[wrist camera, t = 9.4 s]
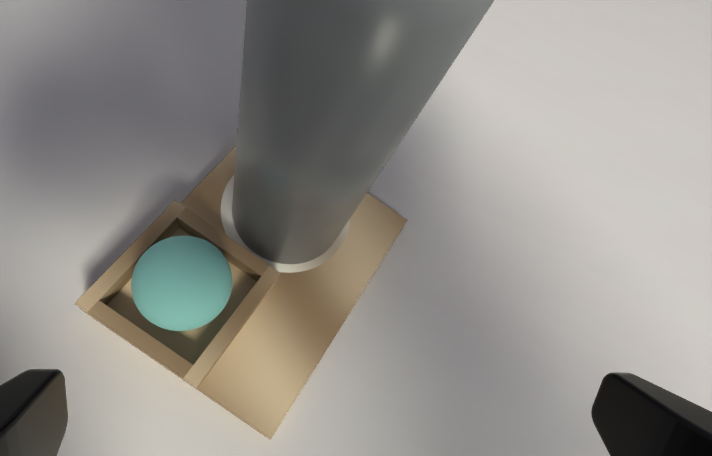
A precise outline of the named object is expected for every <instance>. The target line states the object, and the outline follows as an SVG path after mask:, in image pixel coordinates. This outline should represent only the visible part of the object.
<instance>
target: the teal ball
mask: <svg viewBox="0 0 712 456" xmlns="http://www.w3.org/2000/svg"><path fill="white" fill-rule="evenodd" d="M231 290H232V273H231V268H230V266H229V263H228V261H227V259H226V258H225V256H224V255H223V254H222V252H221V251H220V250H219V249H218V248H217V247H216V246H214V245H213V244H211V243H210V242H208V241H206V240H204V239H201V238H197V237H193V236H174V237H170V238H166V239H164V240H161V241H159V242H158V243H156V244H154V245H153V246H151V247H150V248H149V249H148V250H147V251H146V252H145V253H144V254H143V255H142V256H141V257H140V259H139V260H138V262H137V264H136V266H135V268H134V271H133V274H132V280H131V291H132V296H133V299H134V302H135V304H136V306H137V308H138V310H139V311H140V313H141V314H142V315H143V316H144V317H145V318H146V319H147V320H149V321H150V322H151V323H153V324H155V325H156V326H158V327H161V328H163V329H167V330H172V331H187V330H192V329H196V328H199V327H201V326H203V325H205V324H207V323H209V322H210V321H212V320H213V319H214V318H215V317H217V316H218V315H219V314H220V312H221V311H222V310H223V309H224V307H225V306H226V304H227V302H228V300H229V297H230V294H231Z"/></svg>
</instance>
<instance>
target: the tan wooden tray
mask: <svg viewBox="0 0 712 456" xmlns="http://www.w3.org/2000/svg"><path fill="white" fill-rule="evenodd" d="M236 146H237V145H236ZM236 146H235V147H234V148H233V149H232V150H231V151H230V152H229V153H228V154H227V155H226V156H225V158H224V159H223V160H222V161H221V162H220V163H219V164H218V165H217V166H216V167H215V168H214V169H213V170H212V171H211V172H210V173H209V174H208V175H207V176H206V177H205V178H204V179H203V181H202V182H201V183H200V184H199V185H198V186H197V187H196V188H195V189H194V190H193V191H192V192H191V193H190V194H189V195H188V196H187V197H186V198H185V199H184V200H183V201H182V202H181V203H179V202H177V201H176V200H174V201H173V203H172V204H171V205H170V206H169V207H168V208H167V209H166V210H165V211H164V212H163V213H162V214H161V215H160V216H159V217H158V218H157V219H156V220H155V221H154V222H153V223H152V224H151V225H150V226H149V227H148V228H147V229H146V230H145V231H144V232H143V233H142V234H141V235H140V237H139V238H138V239H137V240H136V241H135V242H134V243H133V244H132V245H131V246H130V247H129V248H128V249H127V250H126V251H125V252H124V253H123V254H122V255H121V256H120V257H119V258H118V259H117V260H116V261H115V262H114V263H113V264H112V265H111V266H110V267H109V268H108V270H107V271H106V272H105V273H104V274H103V275H102V276H101V277H100V278H99V279H98V280H97V281H96V282H95V283H94V284H93V285H92V286H91V287H90V288H89V289H88V290H87V291H86V292H85V293H84V294H83V295H82V296H81V297H80V298H79V299H78V300H77V301H76V303H75V304H76V305H77V306H78V307H79V308H80V309H81V310H83V311H84V312H85V313H87V314H88V315H90V316H91V317H93V318H94V319H96V320H97V321H98V322H100V323H101V324H103V325H104V326H106V327H107V328H109V329H110V330H112V331H113V332H114V333H116V334H117V335H119V336H120V337H122V338H123V339H125V340H126V341H128V342H129V343H130V344H132V345H133V346H135V347H136V348H138V349H139V350H141V351H142V352H144V353H145V354H146V355H148V356H149V357H151V358H152V359H154V360H155V361H157V362H158V363H160V364H161V365H162V366H164V367H165V368H167V369H168V370H170V371H171V372H173V373H174V374H175V375H177V376H178V377H180V378H181V379H183V380H184V381H186V382H187V383H189V384H190V385H191V386H193V387H194V388H196V389H197V390H199V391H200V392H202V393H203V394H205V395H206V396H207V397H209V398H210V399H212V400H213V401H215V402H216V403H218V404H219V405H221V406H222V407H223V408H225V409H226V410H228V411H229V412H231V413H232V414H234V415H235V416H237V417H238V418H239V419H241V420H242V421H244V422H245V423H247V424H248V425H250V426H251V427H253V428H254V429H255V430H257V431H258V432H260V433H261V434H263V435H264V436H266V437H267V438H269V439H271V438H272V436H273V435H274V433H275V431H276V430H277V428H278V427H279V425H280V423H281V422H282V420H283V419H284V417H285V415H286V414H287V412H288V411H289V409H290V407H291V406H292V404H293V403H294V401H295V399H296V398H297V396H298V395H299V393H300V391H301V390H302V388H303V387H304V385H305V383H306V382H307V380H308V379H309V377H310V375H311V374H312V372H313V371H314V369H315V367H316V366H317V364H318V363H319V361H320V359H321V358H322V356H323V355H324V353H325V351H326V350H327V348H328V347H329V345H330V343H331V342H332V340H333V339H334V337H335V335H336V334H337V332H338V331H339V329H340V327H341V326H342V324H343V323H344V321H345V319H346V318H347V316H348V315H349V313H350V311H351V310H352V308H353V307H354V305H355V303H356V302H357V300H358V298H359V297H360V295H361V294H362V292H363V290H364V289H365V287H366V286H367V284H368V282H369V281H370V279H371V278H372V276H373V274H374V273H375V271H376V270H377V268H378V266H379V265H380V263H381V262H382V260H383V258H384V257H385V255H386V254H387V252H388V250H389V249H390V247H391V246H392V244H393V242H394V241H395V239H396V238H397V236H398V234H399V233H400V231H401V230H402V228H403V226H404V225H405V223H406V222H407V220H406V219H405V218H403V217H402V216H401V215H399V214H398V213H396V212H395V211H393V210H392V209H390V208H389V207H388V206H386V205H385V204H383V203H382V202H380V201H379V200H378V199H376V198H375V197H373V196H372V195H370V194H369V193H368V192H367V193H366V195H365V196H364V198H363V199H362V201H361V202H360V204H359V205H358V207H357V209H356V210H355V212H354V213H353V215H352V216H351V218H350V219H349V221H348V222H347V224H346V225H345V227H344V228H343V230H342V231H341V233H340V234H339V236H338V237H337V239H336V240H335V242H334V243H333V244H332V246H331V247H330V248H329V249H328V250H327V251H326V252H325V253H323V254H322V255H321V256H319V257H317V258H315V259H313V260H311V261H308V262H305V263H300V264H281V263H276V262H272V261H269V260H267V259H264V258H262V257H261V256H259V255H257V254H256V253H254V252H253V251H252V250H250V249H249V248H248V247H247V246H246V245H245V244H244V242H243V241H242V240H241V238H240V237H239V235H238V233H237V231H236V229H235V226H234V223H233V219H232V200H233V187H234V173H235V160H236ZM174 236H193V237H197V238H201V239H204V240H206V241H208V242H210V243H211V244H213V245H214V246H216V247H217V248H218V249H219V250H220V251H221V252H222V254H223V255H224V256H225V258H226V259H227V261H228V263H229V266H230V268H231V273H232V290H231V294H230V297H229V300H228V302H227V304H226V306H225V307H224V309H223V310H222V311H221V312H220V314H219V315H218V316H217V317H215V318H214V319H213V320H212V321H210V322H209V323H207V324H205V325H203V326H201V327H199V328H196V329H192V330H187V331H172V330H167V329H163V328H161V327H158V326H156V325H155V324H153V323H151V322H150V321H149V320H147V319H146V318H145V317H144V316H143V315H142V314H141V313H140V311H139V310H138V308H137V306H136V304H135V302H134V299H133V296H132V291H131V280H132V274H133V271H134V268H135V266H136V264H137V262H138V260H139V259H140V257H141V256H142V255H143V254H144V253H145V252H146V251H147V250H148V249H149V248H150V247H151V246H153V245H154V244H156V243H158V242H159V241H161V240H164V239H166V238H170V237H174Z"/></svg>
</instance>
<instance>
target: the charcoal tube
mask: <svg viewBox="0 0 712 456" xmlns="http://www.w3.org/2000/svg"><path fill="white" fill-rule="evenodd" d="M493 1H494V0H247V11H246V25H245V38H244V52H243V65H242V79H241V92H240V106H239V119H238V133H237V146H236V160H235V173H234V187H233V200H232V219H233V223H234V226H235V229H236V231H237V233H238V235H239V237H240V238H241V240H242V241H243V242H244V244H245V245H246V246H247V247H248V248H249V249H250V250H252V251H253V252H254V253H256V254H257V255H259V256H261V257H262V258H264V259H267V260H269V261H272V262H276V263H281V264H300V263H305V262H308V261H311V260H313V259H315V258H317V257H319V256H321V255H322V254H323V253H325V252H326V251H327V250H328V249H329V248H330V247H331V246H332V244H333V243H334V242H335V240H336V239H337V237H338V236H339V234H340V233H341V231H342V230H343V228H344V227H345V225H346V224H347V222H348V221H349V219H350V218H351V216H352V215H353V213H354V212H355V210H356V209H357V207H358V205H359V204H360V202H361V201H362V199H363V198H364V196H365V195H366V193H367V192H368V190H369V189H370V187H371V186H372V184H373V183H374V181H375V180H376V178H377V177H378V175H379V174H380V172H381V171H382V169H383V168H384V166H385V165H386V163H387V162H388V160H389V159H390V157H391V156H392V154H393V153H394V151H395V150H396V148H397V147H398V145H399V144H400V142H401V141H402V139H403V137H404V136H405V134H406V133H407V131H408V130H409V128H410V127H411V125H412V124H413V122H414V121H415V119H416V118H417V116H418V115H419V113H420V112H421V110H422V109H423V107H424V106H425V104H426V103H427V101H428V100H429V98H430V97H431V95H432V94H433V92H434V91H435V89H436V88H437V86H438V85H439V83H440V82H441V80H442V79H443V77H444V76H445V74H446V72H447V71H448V69H449V68H450V66H451V65H452V63H453V62H454V60H455V59H456V57H457V56H458V54H459V53H460V51H461V50H462V48H463V47H464V45H465V44H466V42H467V41H468V39H469V38H470V36H471V35H472V33H473V32H474V30H475V29H476V27H477V26H478V24H479V23H480V21H481V20H482V18H483V17H484V15H485V14H486V12H487V11H488V9H489V8H490V6H491V4H492V3H493Z"/></svg>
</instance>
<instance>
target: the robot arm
mask: <svg viewBox="0 0 712 456" xmlns="http://www.w3.org/2000/svg"><path fill="white" fill-rule="evenodd" d="M591 414H592V419H593V422H594V425H595V427H596V429H597V431H598V432H599V434H600V436H601V438H602V440H603V442H604V444H605V446H606V448H607V450H608V452H609V454H610V456H712V412H711V411H709V410H707V409H705V408H702V407H700V406H698V405H696V404H694V403H692V402H690V401H688V400H686V399H684V398H682V397H680V396H677V395H675V394H673V393H671V392H669V391H667V390H665V389H663V388H661V387H659V386H657V385H655V384H653V383H650V382H648V381H646V380H644V379H642V378H640V377H638V376H636V375H634V374H631V373H609V374H607V375H606V376H605V377H604V378H603V380H602V383H601V385H600V388H599V391H598V393H597V396H596V398H595V401H594V403H593V406H592V412H591ZM67 421H68V411H67V400H66V389H65V379H64V375H63V373H62V372H61V371H60V370H58V369H30V370H27V371H25V372H23V373H21V374H19V375H18V376H16V377H14V378H12V379H11V380H9V381H7V382H5V383H4V384H2V385H0V456H57V453H58V450H59V447H60V445H61V442H62V439H63V437H64V434H65V431H66V427H67Z"/></svg>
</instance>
